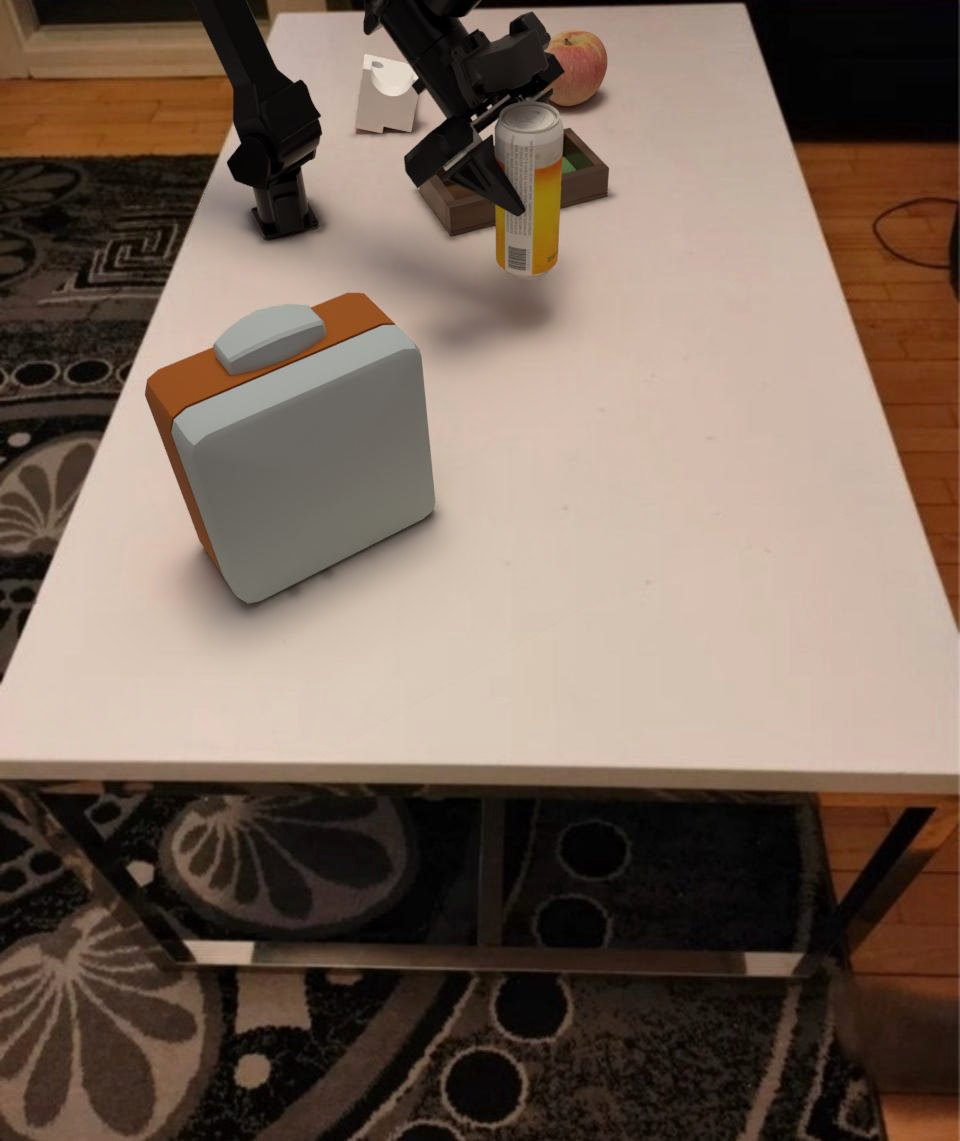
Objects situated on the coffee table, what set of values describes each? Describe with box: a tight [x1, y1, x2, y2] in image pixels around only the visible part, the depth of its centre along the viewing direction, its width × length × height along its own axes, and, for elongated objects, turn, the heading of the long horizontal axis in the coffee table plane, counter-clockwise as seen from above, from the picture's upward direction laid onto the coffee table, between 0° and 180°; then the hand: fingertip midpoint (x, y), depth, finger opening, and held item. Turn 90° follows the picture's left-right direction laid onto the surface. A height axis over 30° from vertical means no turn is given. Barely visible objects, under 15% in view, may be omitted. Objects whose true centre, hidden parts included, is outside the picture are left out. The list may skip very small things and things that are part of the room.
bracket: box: [354, 53, 419, 134], centre depth 130 cm, size 13×7×8 cm, turn 1°
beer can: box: [494, 101, 565, 280], centre depth 94 cm, size 6×6×15 cm
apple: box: [542, 29, 608, 107], centre depth 130 cm, size 9×9×8 cm
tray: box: [418, 127, 610, 236], centre depth 117 cm, size 10×20×4 cm, turn 112°
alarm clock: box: [144, 292, 436, 604], centre depth 78 cm, size 18×9×21 cm, turn 124°
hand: (540, 198), depth 93 cm, fingers closed on beer can, 6 cm apart
